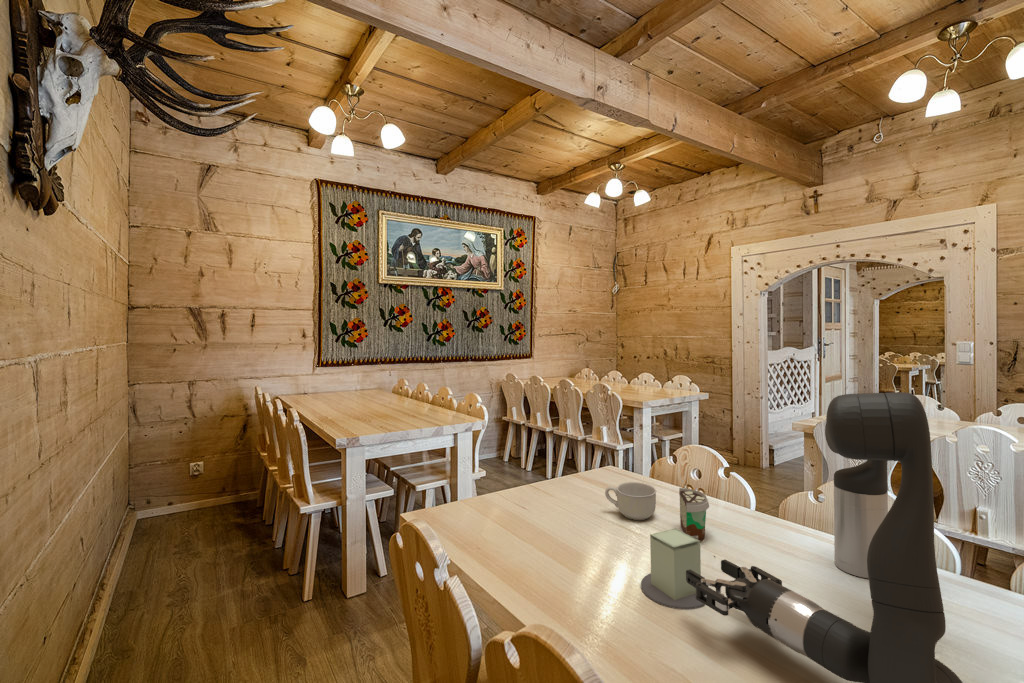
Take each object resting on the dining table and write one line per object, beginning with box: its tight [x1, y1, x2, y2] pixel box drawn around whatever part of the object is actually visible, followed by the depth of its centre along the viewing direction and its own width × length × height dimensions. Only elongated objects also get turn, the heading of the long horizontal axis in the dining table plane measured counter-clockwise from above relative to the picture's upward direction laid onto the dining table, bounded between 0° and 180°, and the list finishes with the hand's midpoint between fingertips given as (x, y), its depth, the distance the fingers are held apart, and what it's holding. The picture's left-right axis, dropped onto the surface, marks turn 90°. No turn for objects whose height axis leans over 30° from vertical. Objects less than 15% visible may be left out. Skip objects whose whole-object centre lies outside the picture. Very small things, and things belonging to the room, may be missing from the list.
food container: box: [678, 487, 710, 542], centre depth 118 cm, size 12×6×10 cm, turn 168°
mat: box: [640, 572, 707, 610], centre depth 93 cm, size 13×13×1 cm
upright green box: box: [649, 527, 702, 600], centre depth 93 cm, size 7×7×10 cm
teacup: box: [604, 481, 657, 521], centre depth 132 cm, size 14×11×8 cm
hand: (705, 569), depth 86 cm, fingers open, 8 cm apart
